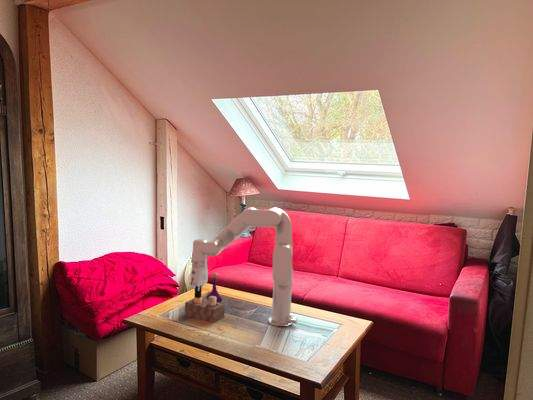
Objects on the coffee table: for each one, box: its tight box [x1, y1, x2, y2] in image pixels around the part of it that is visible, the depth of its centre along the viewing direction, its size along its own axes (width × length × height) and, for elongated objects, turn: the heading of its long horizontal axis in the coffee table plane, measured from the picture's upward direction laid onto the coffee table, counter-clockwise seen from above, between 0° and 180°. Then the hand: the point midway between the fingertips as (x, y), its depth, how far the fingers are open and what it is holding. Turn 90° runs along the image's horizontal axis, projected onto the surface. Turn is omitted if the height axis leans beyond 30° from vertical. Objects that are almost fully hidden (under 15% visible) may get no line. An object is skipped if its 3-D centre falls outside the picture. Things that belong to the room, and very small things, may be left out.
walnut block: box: [184, 298, 226, 324], centre depth 211 cm, size 18×10×7 cm, turn 64°
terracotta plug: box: [193, 296, 203, 304], centre depth 212 cm, size 4×4×7 cm
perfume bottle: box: [205, 272, 223, 303], centre depth 229 cm, size 8×8×18 cm
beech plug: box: [208, 296, 217, 307], centre depth 208 cm, size 4×4×7 cm
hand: (197, 297), depth 212 cm, fingers closed
